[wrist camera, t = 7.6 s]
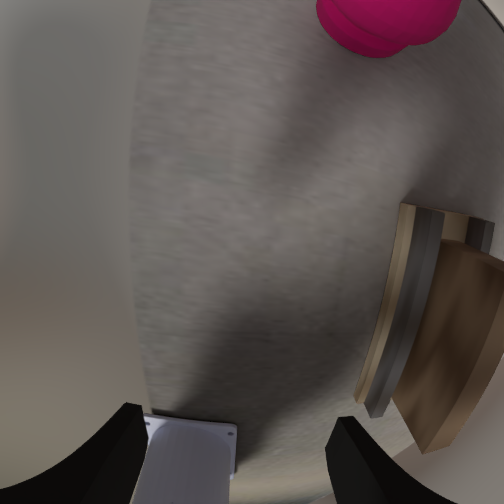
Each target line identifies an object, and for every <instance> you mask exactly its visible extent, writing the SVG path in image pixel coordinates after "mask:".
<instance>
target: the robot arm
mask: <svg viewBox="0 0 504 504" xmlns="http://www.w3.org/2000/svg"><path fill="white" fill-rule="evenodd" d="M236 439H237V426H236V425H234V424H229V423H216V422H205V421H195V420H187V419H179V418H172V417H165V416H159V415H153V414H147V413H144V414H143V411H142V406H141V405H137V404H132V403H127V402H126V403H124V404H123V405H122V407H121V408H120V409H119V410H118V411H117V412H116V413H115V414H114V415H113V416H112V417H111V418H110V419H109V420H108V421H107V422H106V423H105V424H104V425H103V426H102V427H101V428H100V429H99V430H98V431H97V432H96V433H95V434H94V435H93V436H92V437H91V438H90V439H89V440H88V441H86V442H85V443H84V444H83V445H82V446H81V447H79V448H78V449H77V450H76V451H75V452H73V453H72V454H71V455H69V456H68V457H67V458H65V459H64V460H62V461H61V462H60V463H58V464H56V465H55V466H53V467H52V468H50V469H48V470H46V471H45V472H43V473H41V474H39V475H37V476H35V477H33V478H31V479H28V480H26V481H23V482H21V483H18V484H16V485H13V486H10V487H7V488H3V489H0V504H129V503H130V500H131V497H132V494H133V491H134V488H135V485H136V482H137V480H138V477H139V474H140V471H141V474H140V477H139V481H138V484H137V488H136V491H135V495H134V499H133V502H132V504H229V487H230V480H231V479H233V478H234V468H235V454H236ZM147 444H148V446H149V447H148V450H147ZM146 450H147V454H146ZM325 452H326V460H327V467H328V472H329V476H330V480H331V484H332V487H333V491H334V494H335V498H336V501H337V504H457V503H454V502H452V501H450V500H448V499H446V498H444V497H442V496H440V495H439V494H437V493H435V492H433V491H432V490H430V489H428V488H427V487H425V486H424V485H422V484H421V483H419V482H418V481H417V480H415V479H414V478H413V477H411V476H410V475H409V474H408V473H407V472H405V471H404V470H403V469H402V468H401V467H400V466H399V465H397V463H395V462H394V461H393V460H392V459H391V458H390V457H389V456H388V455H387V454H386V452H385V451H384V450H383V449H382V448H381V447H380V446H379V445H378V444H377V443H376V442H375V441H374V439H373V438H372V437H371V436H370V435H369V434H368V433H367V431H366V430H365V429H364V428H363V427H362V426H361V424H360V423H359V422H358V421H357V420H356V418H355V417H354V416H347V417H338V419H337V422H336V424H335V426H334V429H333V431H332V434H331V436H330V438H329V441H328V443H327V445H326V447H325ZM145 454H146V457H145ZM144 459H145V460H144ZM143 462H144V464H143ZM142 465H143V467H142ZM141 468H142V470H141Z"/></svg>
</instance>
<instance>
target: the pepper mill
mask: <svg viewBox="0 0 504 504" xmlns="http://www.w3.org/2000/svg"><path fill="white" fill-rule="evenodd" d="M460 3H461V0H317V4H316V9H317V15H318V18H319V20H320V23H321V24H322V26H323V28H324V29H325V30H326V31H327V33H328V34H329V35H330V36H331V37H332V38H333V39H334V40H336V41H337V42H338V43H339V44H340V45H342V46H344V47H345V48H347V49H349V50H351V51H353V52H355V53H358V54H361V55H363V56H367V57H373V58H385V57H389V56H392V55H394V54H396V53H398V52H399V51H401V50H402V49H404V48H405V47H407V46H408V45H420V44H425V43H428V42H430V41H433V40H434V39H436V38H437V37H438V36H440V35H441V34H442V33H443V32H445V31H446V30H447V29H448V28H449V26H450V25H451V23H452V22H453V20H454V19H455V17H456V15H457V12H458V9H459V6H460Z"/></svg>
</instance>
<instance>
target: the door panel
mask: <svg viewBox="0 0 504 504" xmlns="http://www.w3.org/2000/svg"><path fill="white" fill-rule="evenodd" d="M503 353H504V261H502V260H499V259H497V258H495V257H493V256H491V255H489V254H487V253H485V252H482V251H480V250H478V249H476V248H473V247H471V246H469V245H467V244H464V243H462V242H460V241H456V240H448V239H441V242H440V247H439V252H438V257H437V261H436V266H435V270H434V274H433V278H432V282H431V286H430V290H429V294H428V298H427V301H426V305H425V308H424V311H423V315H422V318H421V321H420V324H419V327H418V330H417V333H416V336H415V339H414V342H413V345H412V348H411V351H410V353H409V356H408V359H407V361H406V364H405V366H404V369H403V371H402V374H401V376H400V379H399V381H398V384H397V386H396V388H395V390H394V393H393V395H392V399H393V401H394V403H395V405H396V406H397V408H398V410H399V412H400V414H401V416H402V417H403V419H404V421H405V423H406V425H407V427H408V428H409V430H410V432H411V434H412V436H413V438H414V440H415V442H416V443H417V445H418V447H419V449H420V451H421V453H422V454H426V453H428V452H432V451H435V450H438V449H441V448H444V447H447V446H449V445H450V444H451V443H452V441H453V440H454V439H455V437H456V436H457V434H458V433H459V431H460V430H461V428H462V427H463V426H464V424H465V422H466V421H467V419H468V418H469V416H470V414H471V413H472V411H473V410H474V408H475V406H476V405H477V403H478V402H479V400H480V398H481V396H482V394H483V393H484V391H485V389H486V387H487V386H488V384H489V382H490V380H491V378H492V376H493V374H494V372H495V370H496V368H497V366H498V364H499V362H500V360H501V358H502V355H503Z"/></svg>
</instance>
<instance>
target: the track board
mask: <svg viewBox="0 0 504 504" xmlns="http://www.w3.org/2000/svg"><path fill="white" fill-rule="evenodd" d="M494 225H495V223H493V222H490V221H486V220H483V219H482V218H478V217H475V216H470V215H465V214H461V213H456V212H450V211H445V210H440V209H435V208H429V207H423V206H418V205H412V204H405V203H400V210H399V217H398V224H397V230H396V236H395V242H394V248H393V253H392V259H391V264H390V269H389V273H388V278H387V283H386V287H385V291H384V296H383V300H382V304H381V308H380V312H379V316H378V319H377V323H376V327H375V330H374V334H373V337H372V341H371V344H370V348H369V351H368V354H367V357H366V360H365V363H364V367H363V370H362V373H361V376H360V378H359V381H358V384H357V387H356V390H355V393H354V395H353V396H354V398H355V401H356V403H357V404H359V403H364V405H365V407H366V409H367V411H368V414H369V416H370V418H378V417H382V416H383V414H384V412H385V410H386V408H387V406H388V404H389V402H390V400H392V395H393V393H394V390H395V388H396V386H397V384H398V381H399V379H400V376H401V374H402V371H403V369H404V366H405V364H406V361H407V359H408V356H409V353H410V351H411V348H412V345H413V342H414V339H415V336H416V333H417V330H418V327H419V324H420V321H421V318H422V315H423V311H424V308H425V305H426V301H427V298H428V294H429V290H430V286H431V282H432V278H433V274H434V270H435V266H436V261H437V257H438V252H439V247H440V242H441V239H448V240H456V241H460V242H462V243H464V244H467V245H469V246H471V247H473V248H476V249H478V250H480V251H482V252H485V253H487V254H489V251H490V246H491V241H492V236H493V231H494Z"/></svg>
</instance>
